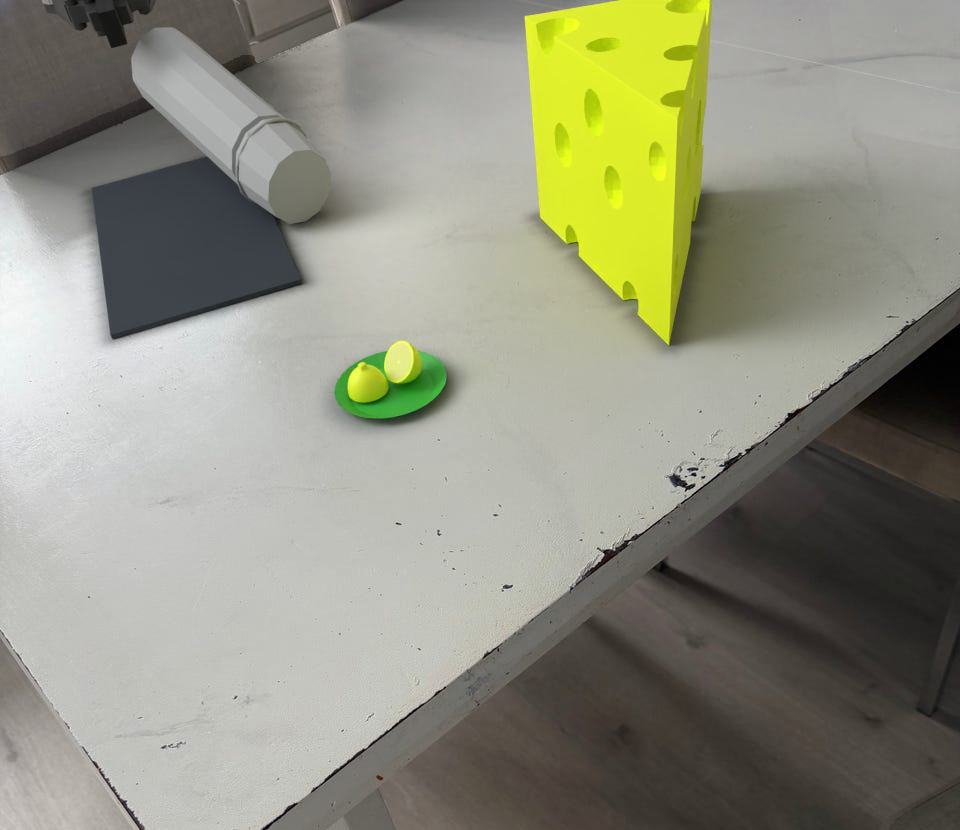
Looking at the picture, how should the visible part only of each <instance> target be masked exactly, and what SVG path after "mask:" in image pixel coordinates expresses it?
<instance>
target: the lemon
mask: <svg viewBox="0 0 960 830" xmlns="http://www.w3.org/2000/svg"><path fill="white" fill-rule="evenodd" d="M447 377H448V375H447V370H446V367H445V365H444V364H443V362H442V361H441V360H440V359H438V358H437V357H436V356H435V355H432V354H430V353H428V352H425V351H422V350H418V349H417V348H416V346H414V345H413V344H411V343H410V342H408V341H405V340H398V341H395V342H393V344H392V345H390V347H389V349H388V350H385V351H381V352H378V353H374V354H371V355H369V356H366V357H364V358H362V359H359V360H358V361H356V362H355V363H353V364H351V365H350V366H349V367H348V368H347V369H346V370H345V371H343V372H342V374H341V375H340V376H339V378H338V379H337V381H336V383H335V385H334V399H335V401H336V402H337V404H338V406H340V408H341V409H343V410H344V411H346V412H347V413H349V414H351V415H354V416H357V417H361V418H366V419H389V418H396V417H399V416H403V415H407V414H410V413H412V412H415V411H418V410H420V409H422V408H423V407H424V406H427V405H428V404H429V403H431V402H432V401H434V399H436V397H438V396H439V394H440V393H441V392H442V391H443V389H444V388H445V385H446V382H447Z"/></svg>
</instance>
